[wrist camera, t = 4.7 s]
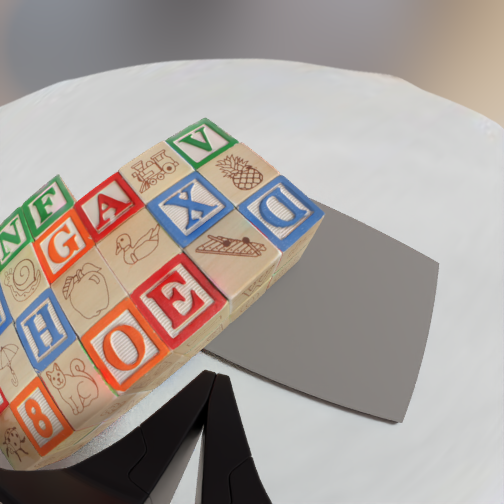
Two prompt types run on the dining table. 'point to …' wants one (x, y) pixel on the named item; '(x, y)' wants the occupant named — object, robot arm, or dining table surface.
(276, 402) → the dining table surface
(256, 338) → the mat
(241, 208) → the stack of blocks
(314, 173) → the dining table surface
